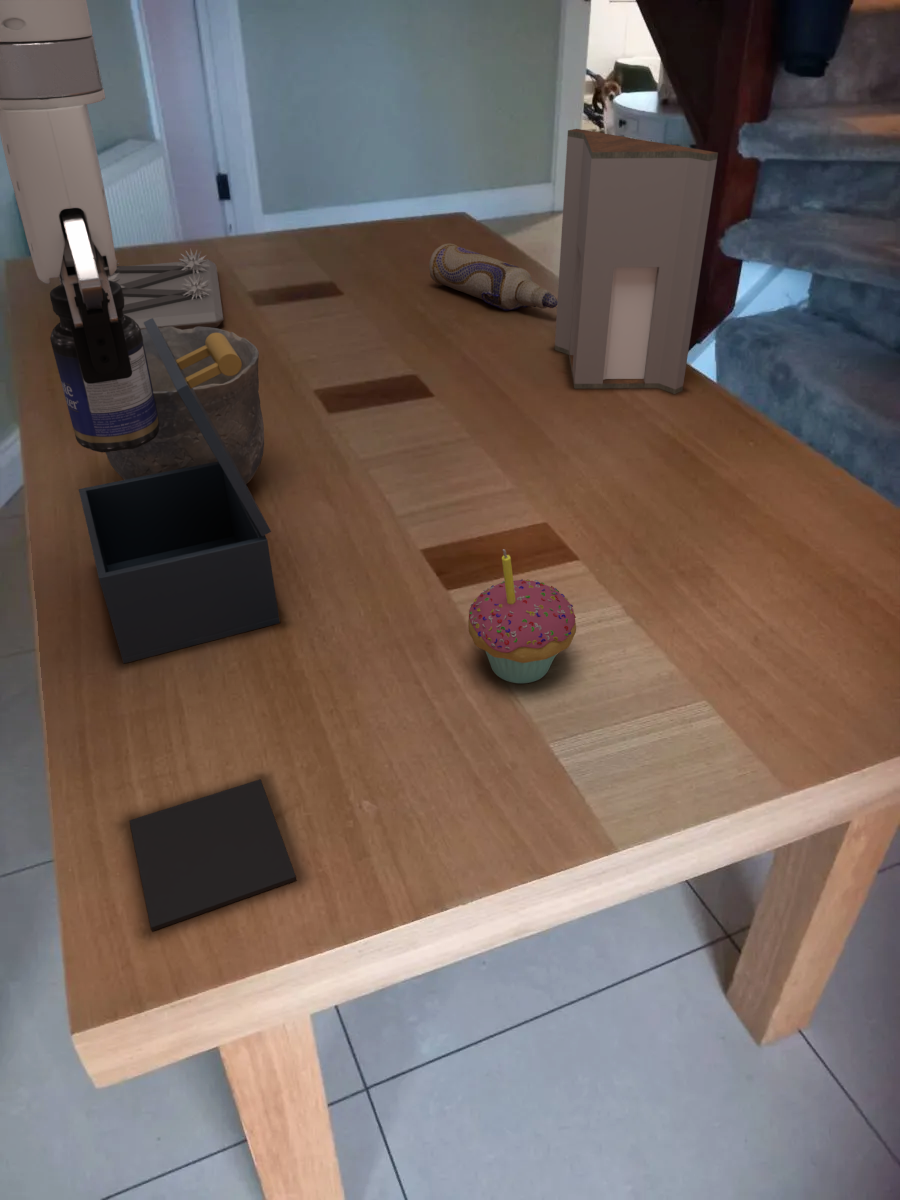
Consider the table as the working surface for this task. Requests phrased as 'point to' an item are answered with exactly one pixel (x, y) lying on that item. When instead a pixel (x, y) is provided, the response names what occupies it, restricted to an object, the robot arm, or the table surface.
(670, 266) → the cabinet
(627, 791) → the table surface
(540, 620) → the cupcake
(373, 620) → the table surface
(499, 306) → the decorative bottle
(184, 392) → the lid
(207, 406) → the bowl
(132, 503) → the chest
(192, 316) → the gray box with spikes
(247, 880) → the mat
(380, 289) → the table surface
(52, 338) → the pill bottle
